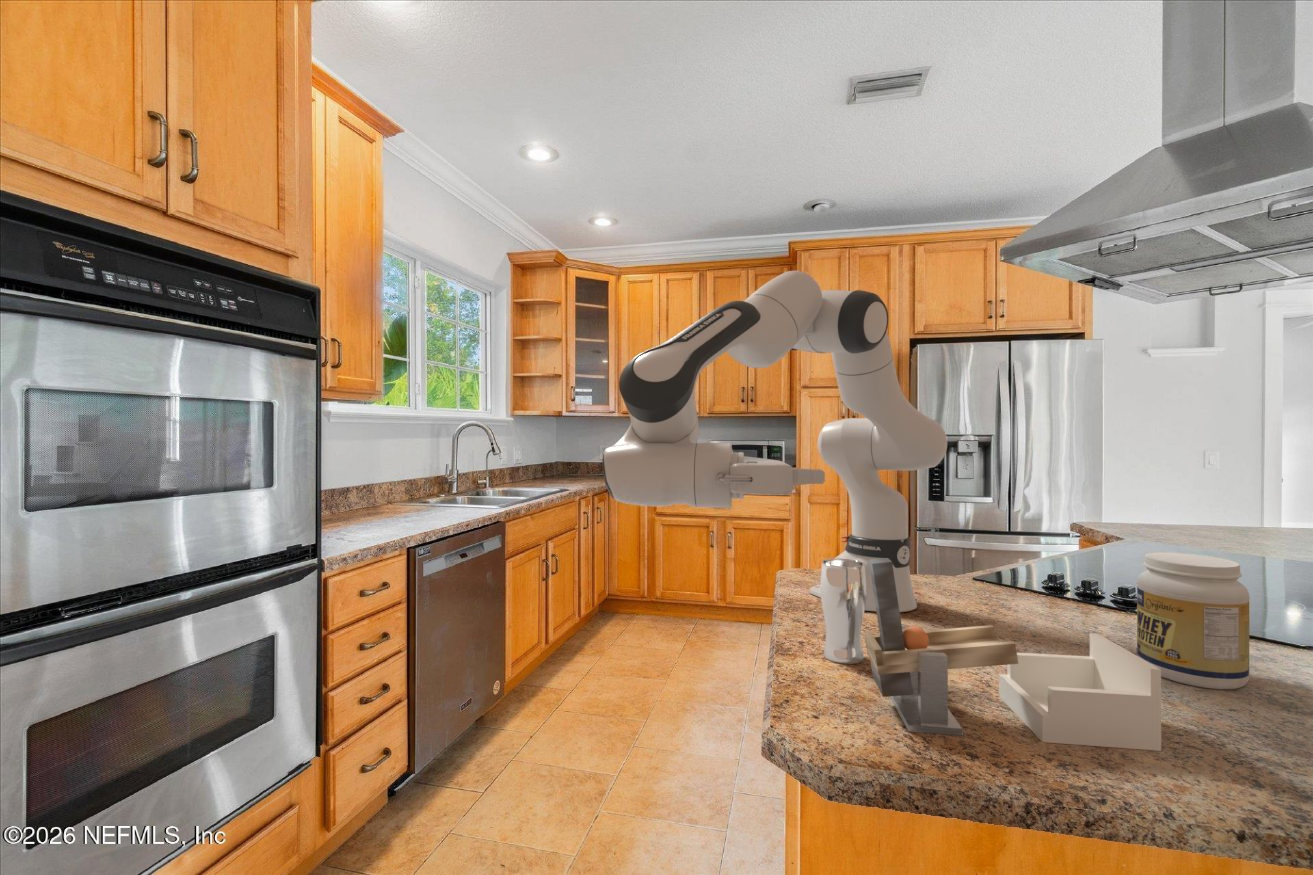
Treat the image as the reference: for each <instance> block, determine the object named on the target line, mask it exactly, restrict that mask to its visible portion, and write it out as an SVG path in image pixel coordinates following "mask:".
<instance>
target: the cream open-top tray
mask: <svg viewBox="0 0 1313 875" xmlns="http://www.w3.org/2000/svg"><path fill="white" fill-rule="evenodd" d="M1017 658H1018V664H1009V665H1006V674H1005V673H1001V674H1000V673H998V685H999V686H998V697H999V698H1000V700H1001V701H1003V702H1004V703H1005V705H1007V707H1008V708H1009V709H1011V711H1012V712H1014V714H1015V715H1016V716H1017V717H1018V718H1019V719H1020V720H1021V721H1022V723H1024V724H1025V725H1026V726H1027V727H1028V728H1029V730H1030V731H1032V732H1033V734H1034V735H1035V736H1036V737H1037V738H1038V739H1039V740H1040V741H1041V742H1042V743H1046V744H1047V743H1049V744H1050V743H1051V744H1065V745H1078V746H1088V747H1089V746H1091V747H1092V746H1093V747H1103V748H1104V747H1105V748H1115V749H1116V748H1118V749H1131V750H1141V751H1142V750H1145V751H1158V752H1161V751H1162V677H1161V669H1159V668H1157V667H1156V666H1154V665H1152V664H1150V663H1149V662H1147V661H1145V660H1143V659H1142V658H1140V657H1138V656H1137V654H1134V653H1132V652H1131V651H1130V650H1128V649H1126V648H1124V647H1122V646H1120V645H1118V644H1117V643H1115V642H1113V641H1111V640H1109V639H1108V638H1106V637H1104V636H1103V635H1101V634H1099V633H1089V655H1069V654H1048V653H1035V652H1034V653H1029V652H1017Z"/></svg>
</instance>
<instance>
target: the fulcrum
mask: <svg viewBox="0 0 1313 875" xmlns="http://www.w3.org/2000/svg"><path fill="white" fill-rule="evenodd" d="M908 627H912V626H907V625H906V626H905V625H902V631H904V630H905V629H906V628H908ZM918 627H919V628H921V629H923V630H924V628H923V627H922V626H918ZM948 672H949V669H948V657H947V655H946V654H945V653H936V652H918V671H916V672H910V676H911V682H912V689H913V695H903V696H889V698H890V699H891V702H892V704H893V706H894V707H895V710H896V711H897V713H898V715H899V717H900V718H901V720H902V722H903V724H904V726H905V729H906V730H907V732H910V733H911V732H912V733H921V734H938V735H949V736H950V735H951V736H963V731H964V730H963V728H962V725H961V724H960V723H959V722H958V720H957V719H956V717H955V715H953V713H952V712H951V711H950V709H949V708H948V707H949V701H948V700H949V696H948V695H949V690H948V689H949V688H948V687H949V686H948V685H949V684H948V682H949V680H948V674H949V673H948Z"/></svg>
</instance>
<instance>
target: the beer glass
mask: <svg viewBox="0 0 1313 875" xmlns="http://www.w3.org/2000/svg"><path fill="white" fill-rule="evenodd" d="M820 568H821V570H820V580H819V583H820V592H821V598H820V600H821V609H822V614H823V618H824V619H823V620H824V625H825V642H824V647H823V657H824V658H825V659H827V660H828V661H831V662H833V663H836V664H843V665H855V664H859V663H861V662H863V661H864V657H865V656H864V651H863V646H862V628H863V620H864V616H865V611H866V610H865V604H866V576H865V564H864V563H863V562H861V561H858V560H852V559H841V558H836V557H834V558H826V559H823V560H821V567H820Z"/></svg>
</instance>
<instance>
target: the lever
mask: <svg viewBox="0 0 1313 875" xmlns="http://www.w3.org/2000/svg"><path fill="white" fill-rule="evenodd" d="M869 566H870V572H871V579H872V586H873V592H874V599H875V606H876V611H875V612H876V618H877V624H878V631H879V634H873V633H872V631H870V630H868V631H867V630H866V631H864V632H863V633H864V638H865V639H864V640H865V645H866V646H865V647H866V652H867V656H868V657H869V659H870V664H871V666H870V667H871V672H872V673H871V674H872V678H873V680H874V681H875V684H876V686H877V689H878V690H879V692H880V694H881V696H882V697H883V698H884V697H890V696H903V695H913V689H912V682H911V676H910V672H916V671H918V652H936V653H945V654H946V655H947V657H948V670H952V669H968V668H979V667H980V668H981V667H992V666H993V667H995V666H1007V665H1009V664H1018V658H1017V653H1018V652H1017V645H1016V643H1015V642H1014V641H1011V640H1010V641H1001V640H999V639H998V638H997V637H996V631H995V630H996V629H995V626H993V625H991V624H990V625H987V624H986V625H979V626H977V625H976V626H975V625H974V626H967V627H966V626H965V627H964V626H963V627H955V628H953V627H951V628H942V629H932V630H930V629H929V630H924V631H925V632H926V634H927V635H928V638H929V645H928V647H927V648H923V649H911V650H907V649H906V648H905V644H904V638H903V631H902V626H903V624H902V618H901V612H900V611H899V605H898V598H897V592H896V585H895V578H894V572H893V565H892V561H891V560H889V559H888V558H882V559H872V560H869Z"/></svg>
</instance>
